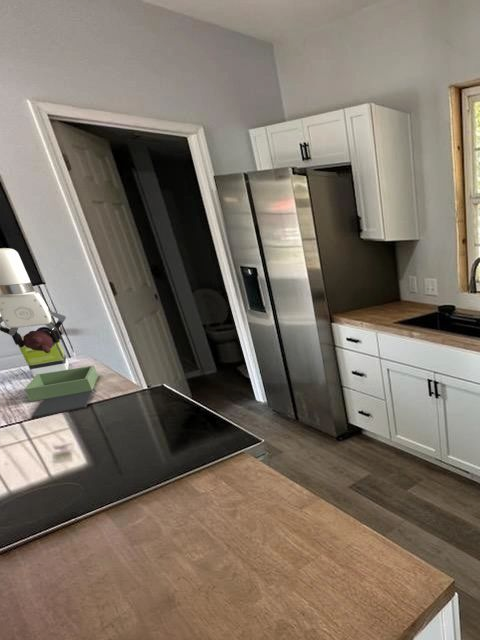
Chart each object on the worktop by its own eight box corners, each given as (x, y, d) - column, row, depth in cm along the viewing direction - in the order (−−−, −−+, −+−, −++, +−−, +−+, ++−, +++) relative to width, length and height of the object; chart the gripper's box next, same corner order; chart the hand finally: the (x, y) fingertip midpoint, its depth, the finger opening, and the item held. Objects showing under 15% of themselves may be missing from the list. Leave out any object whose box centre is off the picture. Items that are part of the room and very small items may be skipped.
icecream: (14, 331, 135) (17, 342, 126) (43, 321, 139) (48, 331, 131) (30, 349, 139) (35, 361, 130) (58, 339, 143) (65, 350, 135)
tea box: (36, 369, 173) (20, 335, 167) (69, 363, 179) (55, 330, 174) (33, 378, 163) (16, 342, 157) (69, 372, 169) (53, 337, 164)
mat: (32, 418, 128) (31, 416, 128) (44, 400, 141) (43, 399, 141) (85, 407, 135) (84, 406, 135) (92, 391, 148) (91, 390, 148)
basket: (29, 401, 141) (24, 389, 139) (41, 385, 155) (36, 374, 153) (92, 390, 150) (87, 378, 148) (98, 376, 164) (93, 365, 162)
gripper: (-31, 294, 121) (-3, 351, 127) (53, 288, 131) (75, 341, 137) (-23, 291, 126) (3, 346, 133) (57, 285, 136) (78, 337, 143)
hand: (40, 343), depth 135 cm, fingers closed on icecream, 7 cm apart
